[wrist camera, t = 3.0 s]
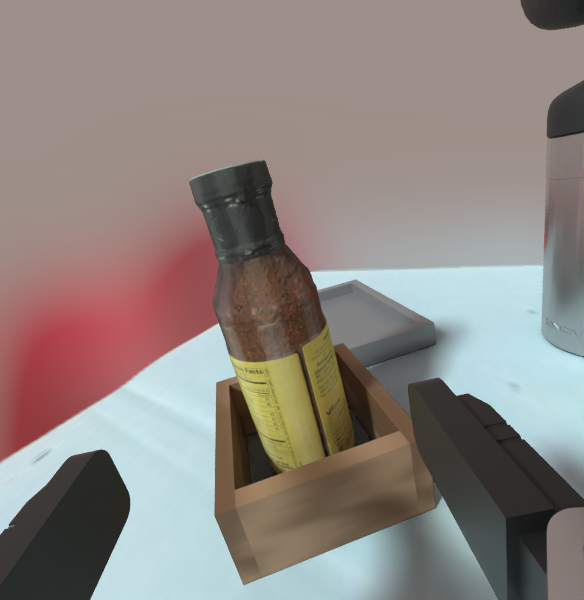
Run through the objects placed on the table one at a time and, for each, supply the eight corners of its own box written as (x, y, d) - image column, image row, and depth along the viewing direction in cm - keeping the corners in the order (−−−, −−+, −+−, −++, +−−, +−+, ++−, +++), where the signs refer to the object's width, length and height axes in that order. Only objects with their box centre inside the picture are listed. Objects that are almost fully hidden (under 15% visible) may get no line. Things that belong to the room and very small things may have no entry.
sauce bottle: (332, 418, 27) (275, 163, 20) (378, 471, 21) (319, 142, 15) (257, 454, 25) (169, 185, 19) (286, 523, 19) (174, 171, 13)
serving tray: (358, 294, 52) (355, 279, 52) (435, 344, 34) (433, 322, 33) (236, 329, 50) (232, 315, 49) (247, 405, 31) (240, 383, 30)
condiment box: (352, 391, 29) (343, 342, 28) (435, 507, 18) (427, 437, 17) (233, 431, 28) (216, 382, 26) (243, 585, 17) (214, 515, 15)
